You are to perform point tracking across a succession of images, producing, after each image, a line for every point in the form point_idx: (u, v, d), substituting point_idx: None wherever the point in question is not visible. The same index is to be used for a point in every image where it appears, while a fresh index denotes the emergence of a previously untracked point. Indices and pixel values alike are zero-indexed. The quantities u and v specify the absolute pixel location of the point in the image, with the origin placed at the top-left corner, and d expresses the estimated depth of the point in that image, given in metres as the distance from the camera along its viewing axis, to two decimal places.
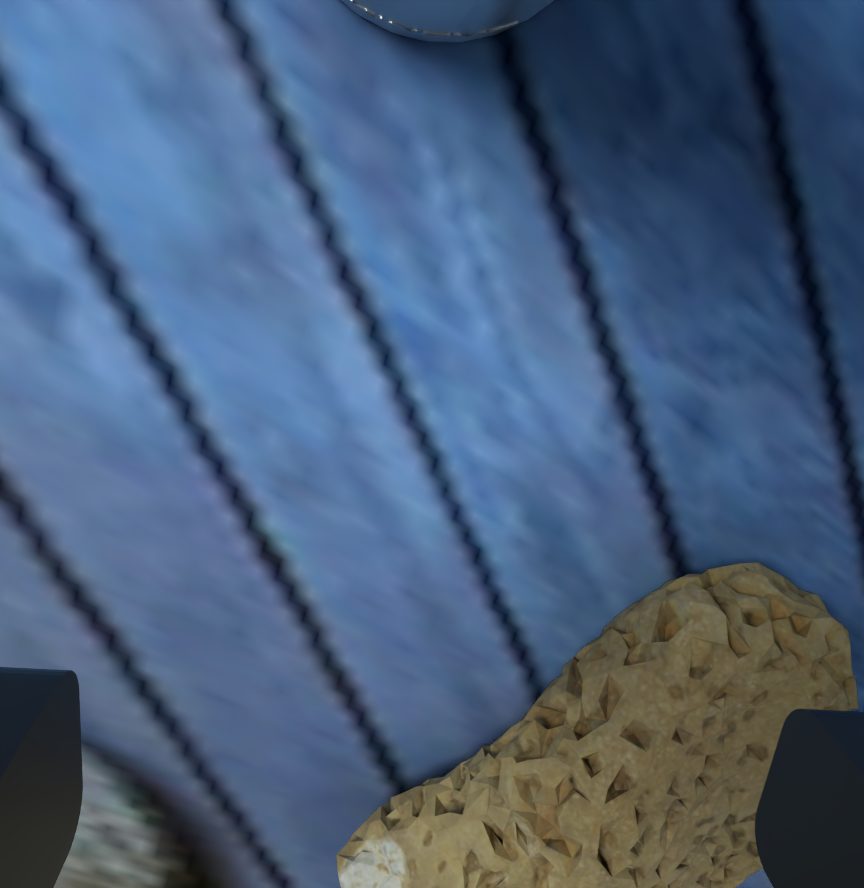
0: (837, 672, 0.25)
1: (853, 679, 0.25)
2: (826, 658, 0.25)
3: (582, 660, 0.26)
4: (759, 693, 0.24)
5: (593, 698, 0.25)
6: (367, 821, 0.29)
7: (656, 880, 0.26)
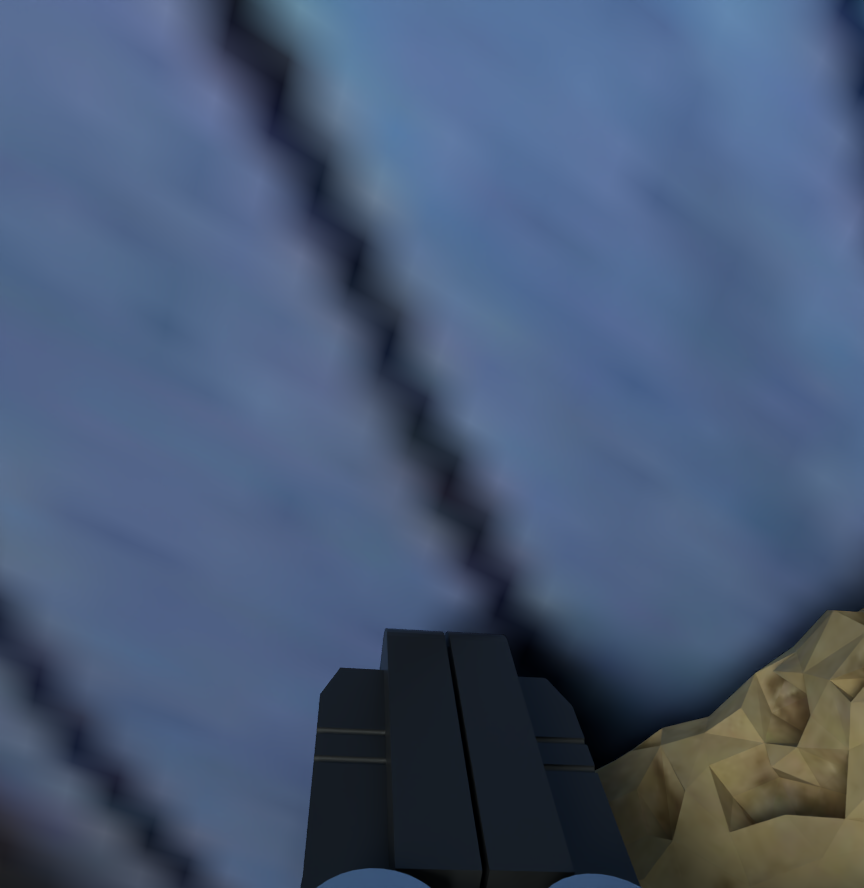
0: None
1: None
2: None
3: None
4: None
5: None
6: None
7: None
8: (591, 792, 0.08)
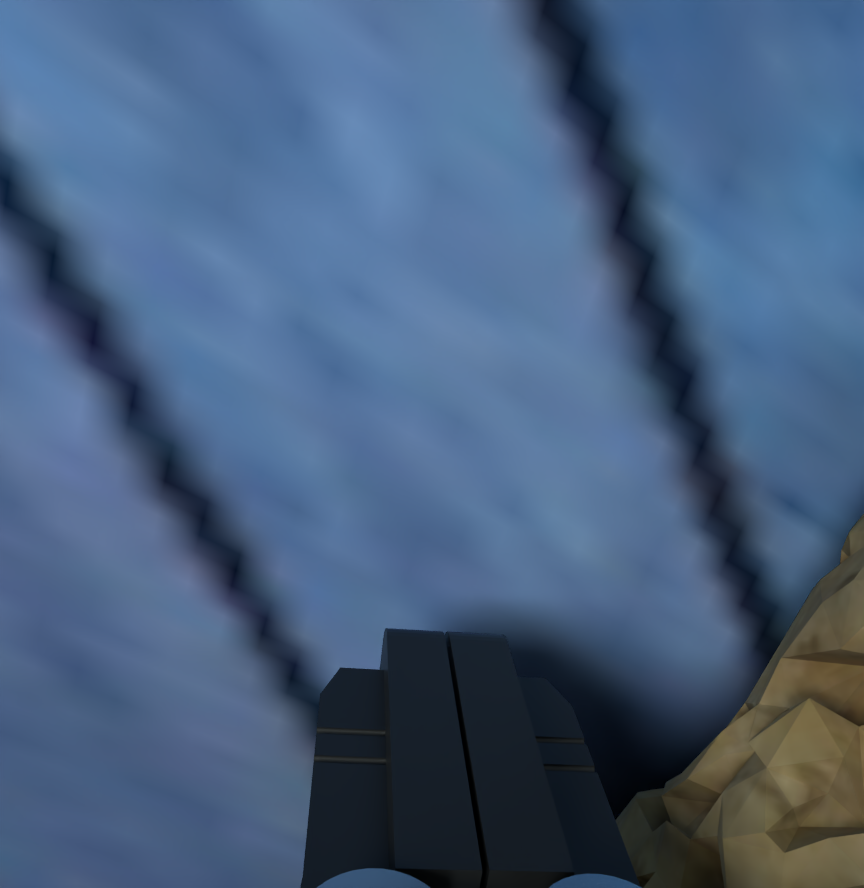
0: None
1: None
2: None
3: None
4: None
5: None
6: None
7: None
8: (591, 792, 0.08)
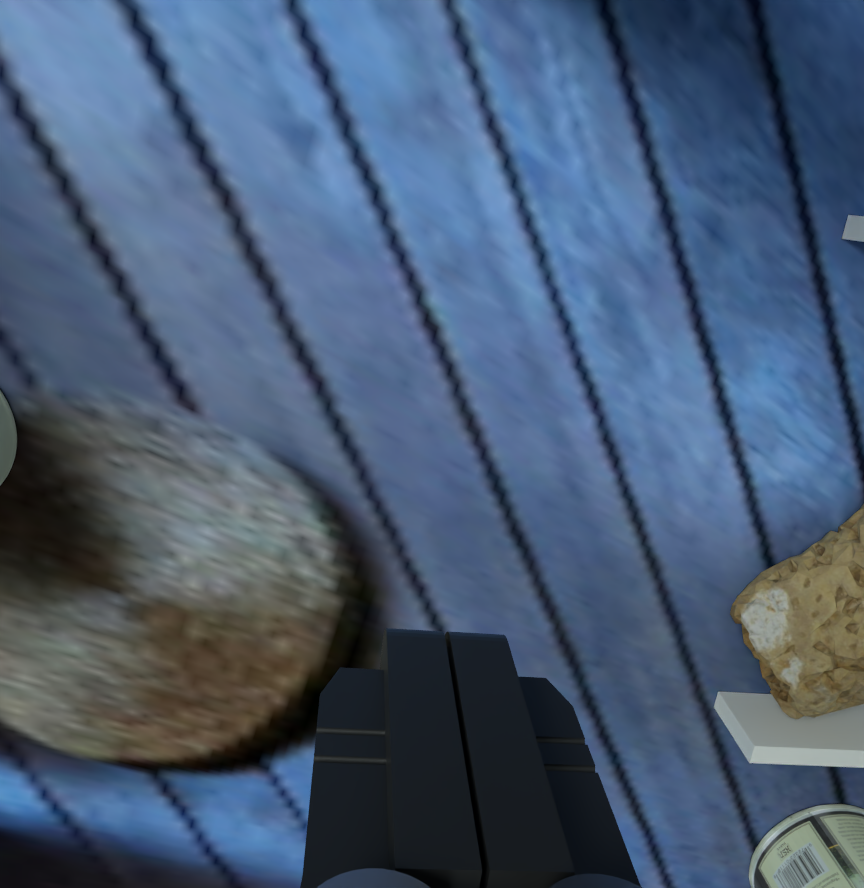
0: None
1: None
2: None
3: None
4: None
5: None
6: (751, 584, 0.45)
7: None
8: (591, 792, 0.08)
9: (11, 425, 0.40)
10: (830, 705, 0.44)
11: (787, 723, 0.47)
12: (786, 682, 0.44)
